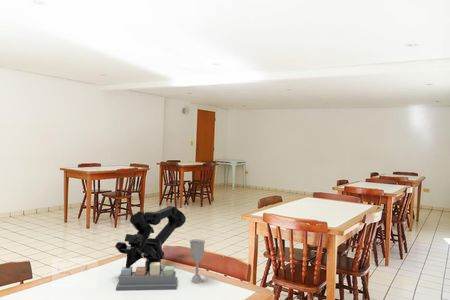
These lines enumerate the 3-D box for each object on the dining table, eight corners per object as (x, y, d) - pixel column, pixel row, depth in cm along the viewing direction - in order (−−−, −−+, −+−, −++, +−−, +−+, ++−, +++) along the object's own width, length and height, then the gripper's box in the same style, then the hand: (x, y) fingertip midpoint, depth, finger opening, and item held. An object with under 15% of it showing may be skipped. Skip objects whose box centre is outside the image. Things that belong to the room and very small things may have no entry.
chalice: (207, 279, 167) (208, 240, 166) (200, 285, 161) (201, 244, 160) (193, 277, 170) (194, 238, 169) (185, 282, 164) (186, 241, 163)
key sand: (160, 274, 162) (160, 262, 162) (159, 278, 158) (159, 265, 158) (150, 274, 162) (150, 262, 161) (149, 278, 158) (149, 265, 157)
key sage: (173, 278, 163) (173, 266, 162) (173, 282, 159) (173, 269, 158) (164, 278, 162) (164, 266, 162) (163, 282, 158) (164, 269, 158)
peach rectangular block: (146, 279, 161) (146, 266, 161) (144, 282, 157) (145, 269, 157) (136, 279, 161) (137, 266, 161) (135, 282, 157) (135, 269, 157)
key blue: (132, 279, 161) (132, 266, 161) (130, 282, 157) (130, 270, 157) (122, 279, 161) (123, 266, 160) (121, 283, 157) (121, 270, 156)
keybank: (177, 280, 166) (177, 269, 166) (176, 289, 156) (176, 277, 156) (120, 281, 163) (120, 270, 163) (115, 290, 154) (116, 278, 153)
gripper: (117, 224, 167) (100, 255, 157) (152, 228, 160) (136, 261, 150) (128, 237, 174) (112, 267, 164) (162, 242, 167) (147, 274, 157)
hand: (126, 267), depth 159 cm, fingers closed
